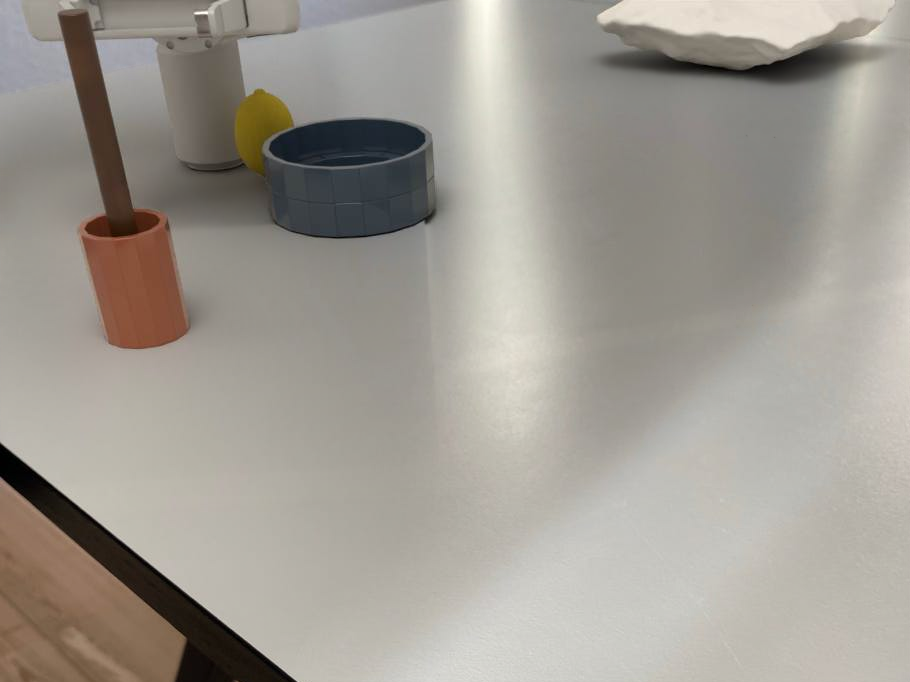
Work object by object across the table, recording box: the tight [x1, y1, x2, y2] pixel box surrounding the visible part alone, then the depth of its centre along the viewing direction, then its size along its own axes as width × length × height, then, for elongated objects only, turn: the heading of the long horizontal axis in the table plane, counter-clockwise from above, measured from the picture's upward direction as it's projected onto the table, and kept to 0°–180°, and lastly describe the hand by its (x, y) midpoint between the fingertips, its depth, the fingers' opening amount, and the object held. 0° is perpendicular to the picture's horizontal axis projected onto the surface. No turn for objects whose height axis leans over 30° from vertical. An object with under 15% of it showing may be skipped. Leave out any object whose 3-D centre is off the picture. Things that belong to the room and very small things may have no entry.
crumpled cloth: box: [596, 0, 897, 71], centre depth 130 cm, size 24×35×9 cm
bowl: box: [261, 116, 437, 238], centre depth 95 cm, size 14×14×6 cm
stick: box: [57, 9, 139, 237], centre depth 73 cm, size 2×2×20 cm
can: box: [155, 40, 247, 171], centre depth 106 cm, size 8×8×12 cm
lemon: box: [235, 88, 295, 179], centre depth 102 cm, size 6×6×8 cm
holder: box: [76, 208, 191, 350], centre depth 77 cm, size 6×6×8 cm
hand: (138, 26), depth 78 cm, fingers open, 8 cm apart
